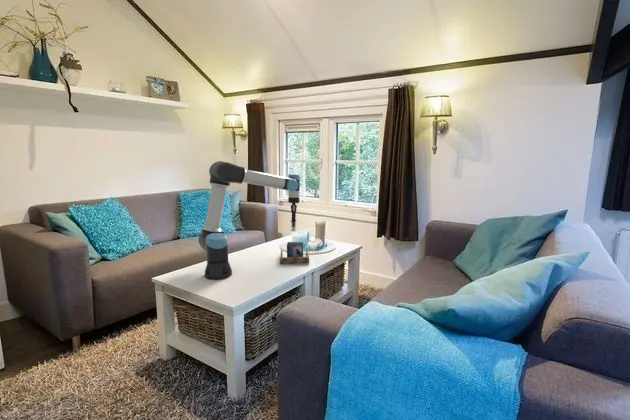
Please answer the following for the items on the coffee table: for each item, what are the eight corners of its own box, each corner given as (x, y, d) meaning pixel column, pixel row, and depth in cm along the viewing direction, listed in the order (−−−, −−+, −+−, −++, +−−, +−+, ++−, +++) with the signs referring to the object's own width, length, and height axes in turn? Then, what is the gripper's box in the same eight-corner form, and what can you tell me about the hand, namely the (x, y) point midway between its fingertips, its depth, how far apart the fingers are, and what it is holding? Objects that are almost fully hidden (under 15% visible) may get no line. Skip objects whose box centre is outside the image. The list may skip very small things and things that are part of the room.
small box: (286, 260, 221) (286, 244, 219) (287, 257, 228) (287, 241, 226) (302, 260, 221) (302, 244, 219) (303, 257, 228) (303, 242, 226)
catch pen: (280, 264, 213) (280, 258, 213) (281, 255, 231) (281, 249, 230) (309, 263, 215) (309, 257, 214) (307, 254, 232) (307, 249, 231)
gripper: (299, 198, 222) (299, 233, 226) (299, 195, 235) (298, 228, 239) (288, 198, 222) (287, 233, 226) (288, 195, 235) (287, 228, 239)
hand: (293, 230), depth 233 cm, fingers closed
